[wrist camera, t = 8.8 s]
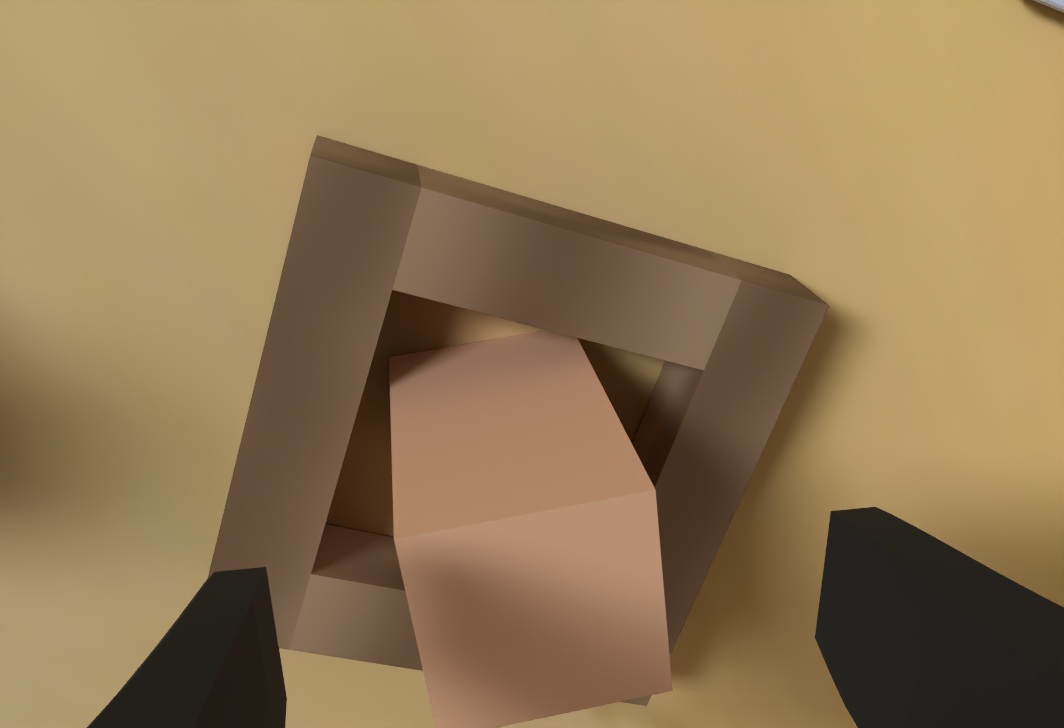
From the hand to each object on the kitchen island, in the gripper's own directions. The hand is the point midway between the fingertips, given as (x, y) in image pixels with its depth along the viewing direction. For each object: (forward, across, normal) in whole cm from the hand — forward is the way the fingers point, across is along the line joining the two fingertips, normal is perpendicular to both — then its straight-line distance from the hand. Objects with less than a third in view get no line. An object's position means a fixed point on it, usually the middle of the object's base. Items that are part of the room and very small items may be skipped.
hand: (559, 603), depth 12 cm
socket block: (+9, 0, +2) cm, 10 cm away
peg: (+9, 0, +2) cm, 10 cm away
